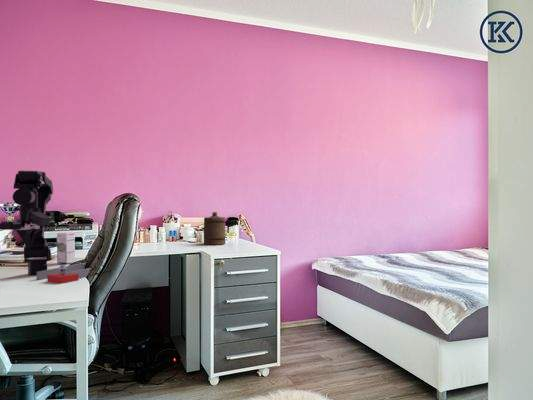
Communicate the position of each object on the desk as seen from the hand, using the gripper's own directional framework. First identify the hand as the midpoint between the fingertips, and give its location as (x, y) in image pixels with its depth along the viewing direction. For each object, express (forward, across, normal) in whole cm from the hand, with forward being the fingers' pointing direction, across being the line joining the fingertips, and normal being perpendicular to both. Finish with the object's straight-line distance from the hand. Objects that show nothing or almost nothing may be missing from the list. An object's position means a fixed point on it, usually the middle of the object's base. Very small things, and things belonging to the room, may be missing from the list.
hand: (28, 248), depth 148 cm
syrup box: (+12, +42, +24) cm, 50 cm away
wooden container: (+12, +143, -6) cm, 143 cm away
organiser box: (+12, +16, -7) cm, 21 cm away
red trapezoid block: (+13, +4, -11) cm, 18 cm away
